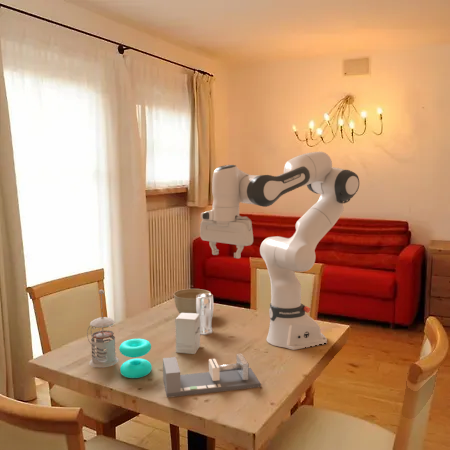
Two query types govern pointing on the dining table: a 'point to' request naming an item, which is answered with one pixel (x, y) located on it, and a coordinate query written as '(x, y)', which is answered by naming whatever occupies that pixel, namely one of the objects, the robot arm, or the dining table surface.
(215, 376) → the gauge pointer
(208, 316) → the beer glass
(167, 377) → the frame
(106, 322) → the french press
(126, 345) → the donuts
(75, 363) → the dining table surface
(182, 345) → the supplement box
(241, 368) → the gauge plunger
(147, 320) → the dining table surface
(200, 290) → the planter bowl
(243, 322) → the dining table surface
